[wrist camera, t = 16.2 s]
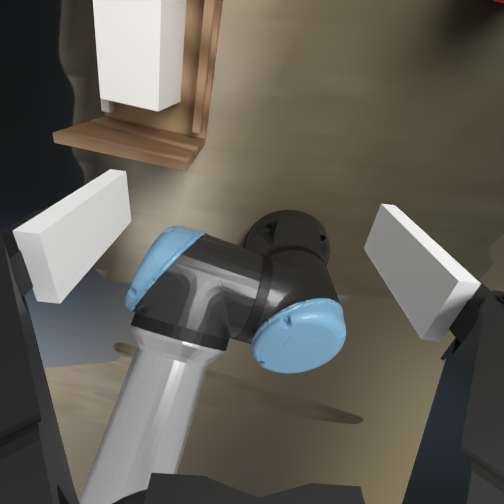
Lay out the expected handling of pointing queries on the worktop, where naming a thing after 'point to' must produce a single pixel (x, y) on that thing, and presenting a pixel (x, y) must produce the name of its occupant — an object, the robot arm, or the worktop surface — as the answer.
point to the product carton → (140, 51)
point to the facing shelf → (169, 119)
